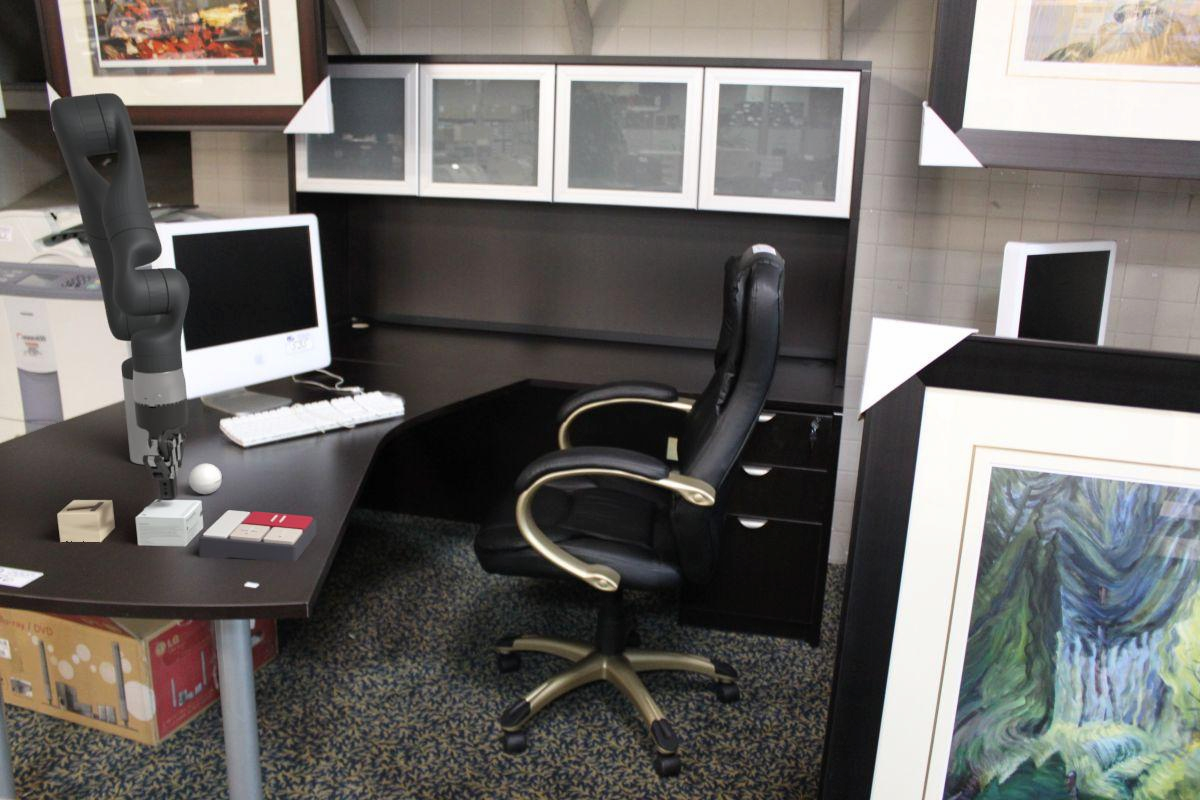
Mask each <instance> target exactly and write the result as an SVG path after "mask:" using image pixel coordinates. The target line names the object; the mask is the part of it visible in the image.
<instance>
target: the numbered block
mask: <svg viewBox="0 0 1200 800" xmlns="http://www.w3.org/2000/svg"><path fill="white" fill-rule="evenodd" d="M57 524H58V532H59V541H60V542H59V543H61V542H66V541H68V542H71V541H72V542H83V541H84V542H100V543H102V542H103V541H104V539H105V538H107V537H108V536H109V535H110V534H111V532H112V531H113V530H114V529H116V526H115V524H116V523H115V515H114V504H113V500H112V499H73V500H72V501H71V502H70V503H69V504H67V505H66V506H64V508H63V509H61V511H59V512H58V513H57Z"/></svg>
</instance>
